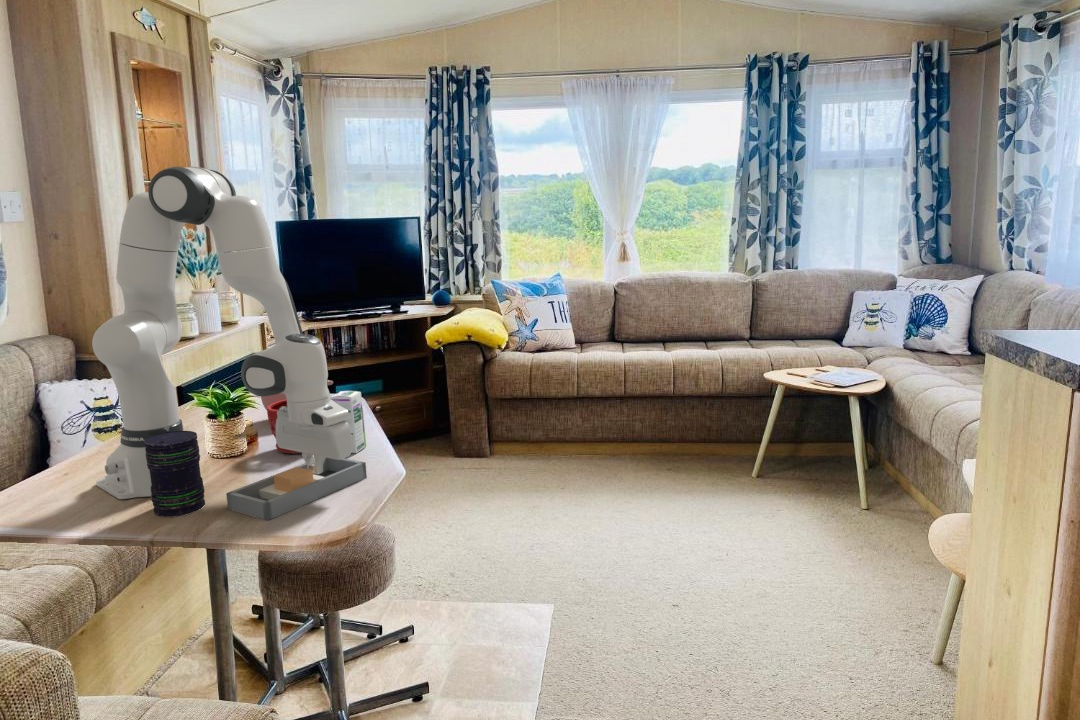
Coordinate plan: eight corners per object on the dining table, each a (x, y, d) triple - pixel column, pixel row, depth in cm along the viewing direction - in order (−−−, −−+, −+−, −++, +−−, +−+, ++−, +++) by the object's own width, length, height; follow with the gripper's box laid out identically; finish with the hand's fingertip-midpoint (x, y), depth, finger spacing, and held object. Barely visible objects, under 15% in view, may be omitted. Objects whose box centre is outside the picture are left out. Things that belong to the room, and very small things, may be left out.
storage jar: (173, 498, 167) (164, 430, 164) (215, 499, 165) (207, 430, 162) (142, 516, 157) (132, 444, 154) (187, 518, 155) (177, 445, 152)
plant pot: (309, 437, 207) (305, 393, 205) (335, 447, 198) (331, 401, 195) (262, 449, 198) (257, 403, 196) (287, 460, 189) (282, 412, 186)
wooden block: (275, 489, 164) (273, 475, 163) (297, 480, 169) (296, 466, 168) (291, 493, 161) (290, 479, 161) (313, 483, 166) (312, 470, 166)
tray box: (228, 509, 159) (226, 493, 158) (328, 469, 181) (327, 454, 181) (267, 520, 153) (266, 503, 152) (366, 477, 175) (365, 462, 174)
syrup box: (356, 454, 192) (352, 396, 189) (334, 453, 193) (329, 395, 190) (366, 446, 197) (362, 390, 195) (344, 446, 199) (339, 390, 196)
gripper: (265, 408, 170) (271, 469, 173) (331, 419, 159) (337, 484, 162) (288, 401, 175) (294, 461, 178) (354, 412, 164) (359, 475, 167)
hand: (315, 472), depth 170 cm, fingers closed
